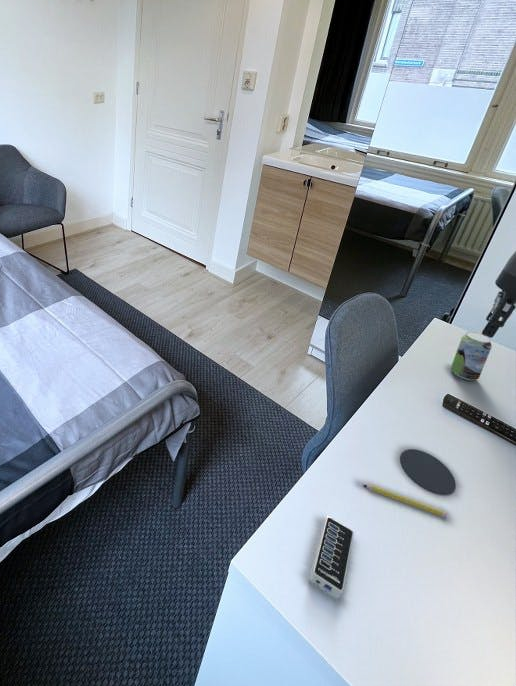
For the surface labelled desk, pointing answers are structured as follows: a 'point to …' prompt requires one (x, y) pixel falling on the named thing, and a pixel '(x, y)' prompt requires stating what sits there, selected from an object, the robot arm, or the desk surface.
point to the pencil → (406, 501)
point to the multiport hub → (331, 557)
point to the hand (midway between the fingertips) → (488, 328)
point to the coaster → (427, 471)
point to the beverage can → (471, 356)
